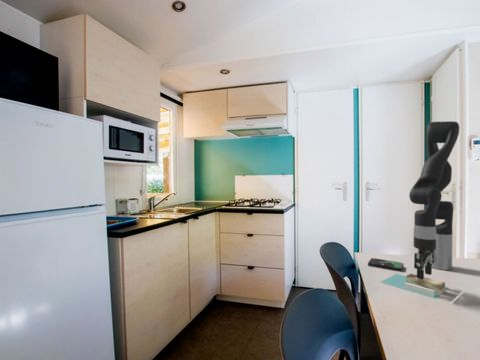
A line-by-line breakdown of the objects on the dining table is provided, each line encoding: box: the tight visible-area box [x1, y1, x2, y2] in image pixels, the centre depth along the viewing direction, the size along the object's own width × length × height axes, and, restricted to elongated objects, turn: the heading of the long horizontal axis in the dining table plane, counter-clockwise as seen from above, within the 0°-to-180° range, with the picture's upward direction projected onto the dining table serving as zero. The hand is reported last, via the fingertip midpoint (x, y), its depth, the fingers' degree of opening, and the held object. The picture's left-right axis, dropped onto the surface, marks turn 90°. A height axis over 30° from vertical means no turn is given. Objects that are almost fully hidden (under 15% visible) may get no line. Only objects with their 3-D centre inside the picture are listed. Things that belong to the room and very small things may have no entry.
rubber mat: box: [380, 273, 450, 300], centre depth 112 cm, size 16×20×1 cm
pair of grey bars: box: [405, 283, 435, 297], centre depth 109 cm, size 13×10×2 cm
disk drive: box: [367, 257, 404, 273], centre depth 136 cm, size 10×3×15 cm
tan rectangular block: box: [405, 273, 446, 295], centre depth 109 cm, size 12×4×4 cm, turn 37°
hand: (424, 276), depth 109 cm, fingers open, 8 cm apart
